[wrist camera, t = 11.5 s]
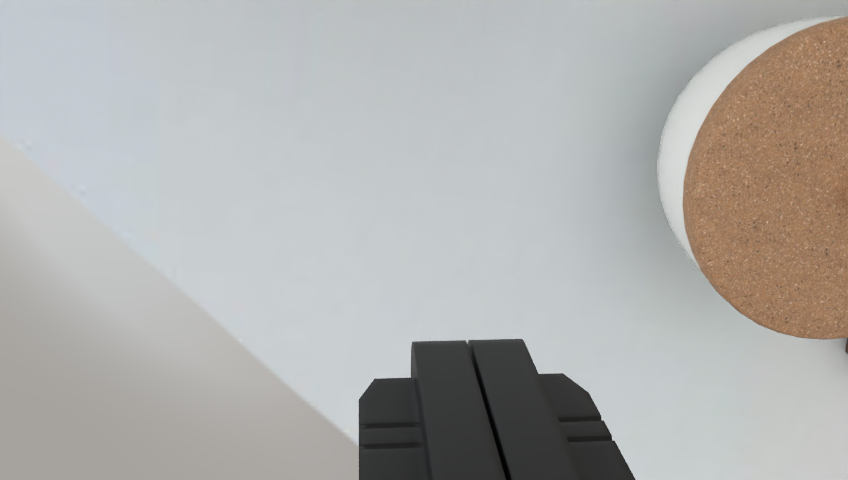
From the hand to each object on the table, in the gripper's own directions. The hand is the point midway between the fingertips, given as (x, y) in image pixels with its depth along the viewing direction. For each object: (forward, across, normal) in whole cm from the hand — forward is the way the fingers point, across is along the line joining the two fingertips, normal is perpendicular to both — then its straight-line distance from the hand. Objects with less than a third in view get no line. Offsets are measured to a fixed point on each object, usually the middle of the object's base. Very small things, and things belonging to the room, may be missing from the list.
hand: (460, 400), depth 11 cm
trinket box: (+22, -15, +1) cm, 26 cm away
